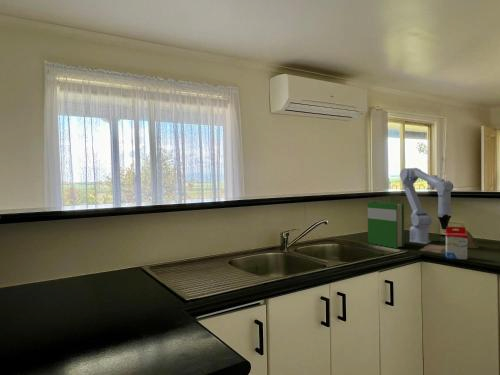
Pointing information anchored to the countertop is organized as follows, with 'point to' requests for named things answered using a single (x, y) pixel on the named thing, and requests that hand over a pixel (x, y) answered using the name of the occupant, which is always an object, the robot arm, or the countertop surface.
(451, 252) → the ink box
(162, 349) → the countertop surface
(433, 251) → the mat
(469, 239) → the rock
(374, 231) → the hardback book
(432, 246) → the tile
